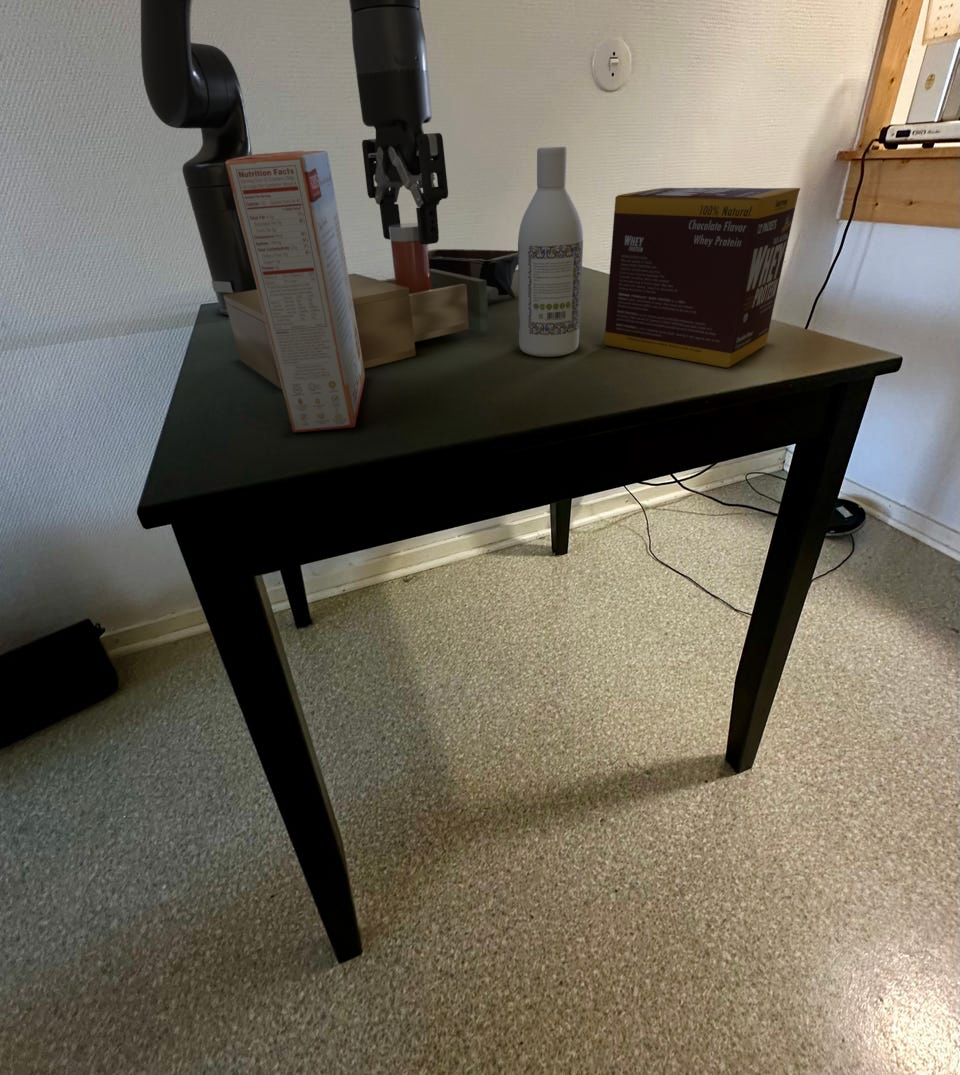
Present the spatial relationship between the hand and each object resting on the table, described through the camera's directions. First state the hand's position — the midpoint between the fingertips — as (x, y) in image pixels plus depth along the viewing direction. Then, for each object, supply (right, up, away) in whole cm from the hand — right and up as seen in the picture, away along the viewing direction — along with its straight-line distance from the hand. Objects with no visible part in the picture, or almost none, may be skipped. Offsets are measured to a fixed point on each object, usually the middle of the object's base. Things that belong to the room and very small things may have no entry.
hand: (410, 241), depth 72 cm
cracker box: (-6, -23, -13) cm, 27 cm away
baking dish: (+6, +1, +22) cm, 23 cm away
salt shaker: (0, -8, +5) cm, 9 cm away
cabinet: (-10, -14, 0) cm, 17 cm away
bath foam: (+16, -13, -1) cm, 21 cm away
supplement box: (+32, -13, -2) cm, 35 cm away
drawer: (+1, -8, +6) cm, 10 cm away
